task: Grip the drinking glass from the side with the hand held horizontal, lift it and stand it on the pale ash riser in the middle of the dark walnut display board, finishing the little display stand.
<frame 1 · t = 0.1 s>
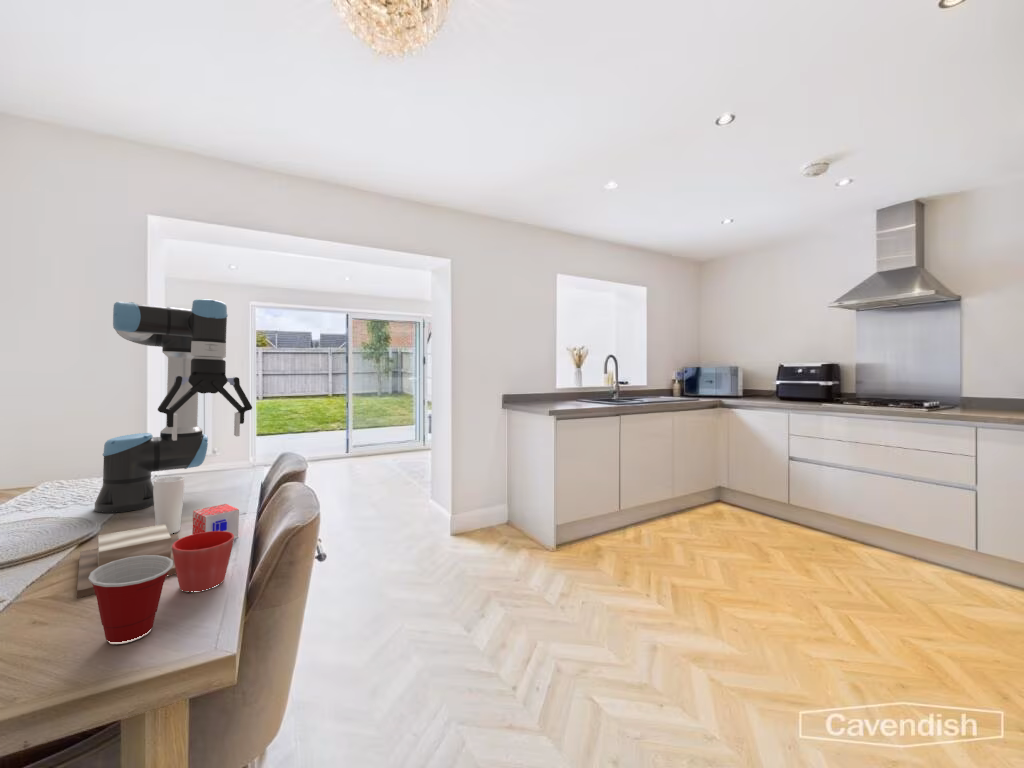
hand: (206, 437, 111), 28 cm above the table, tool pointing down, fingers open, 13 cm apart
display stand: (134, 564, 97), on the table
red patterned cube: (215, 539, 113), on the table
flower pot: (203, 585, 89), on the table
drinking glass: (168, 533, 116), on the table
plastic cup: (131, 636, 72), on the table
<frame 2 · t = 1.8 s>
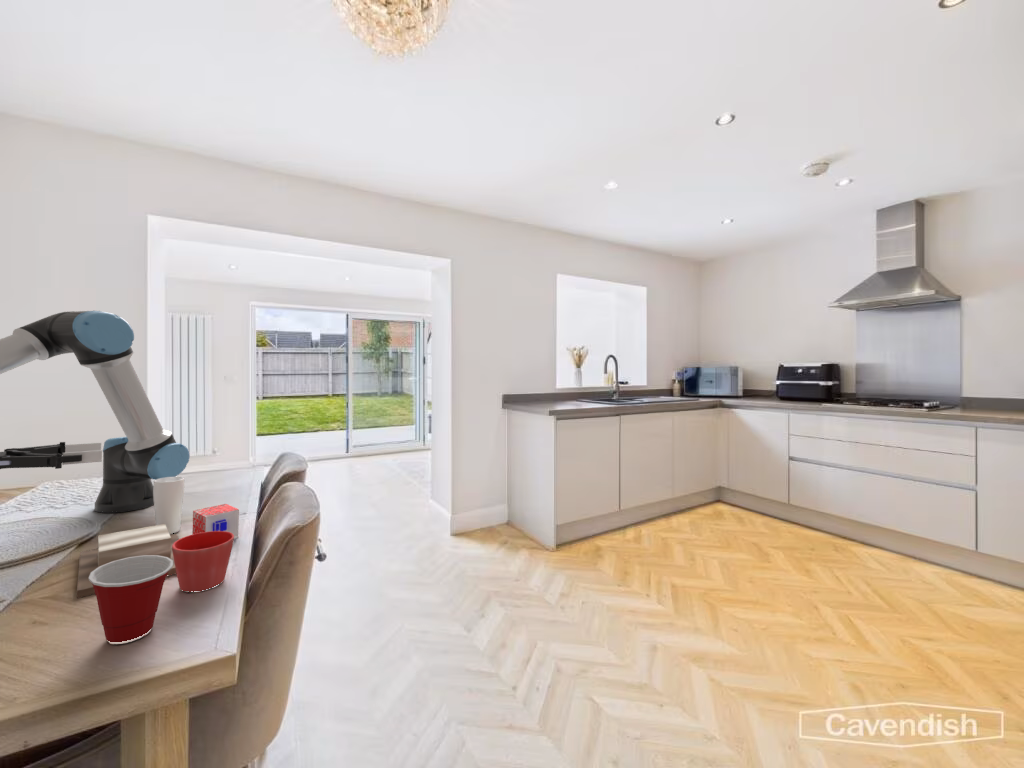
hand: (101, 451, 106), 24 cm above the table, tool horizontal, fingers open, 13 cm apart
nothing on the table moved.
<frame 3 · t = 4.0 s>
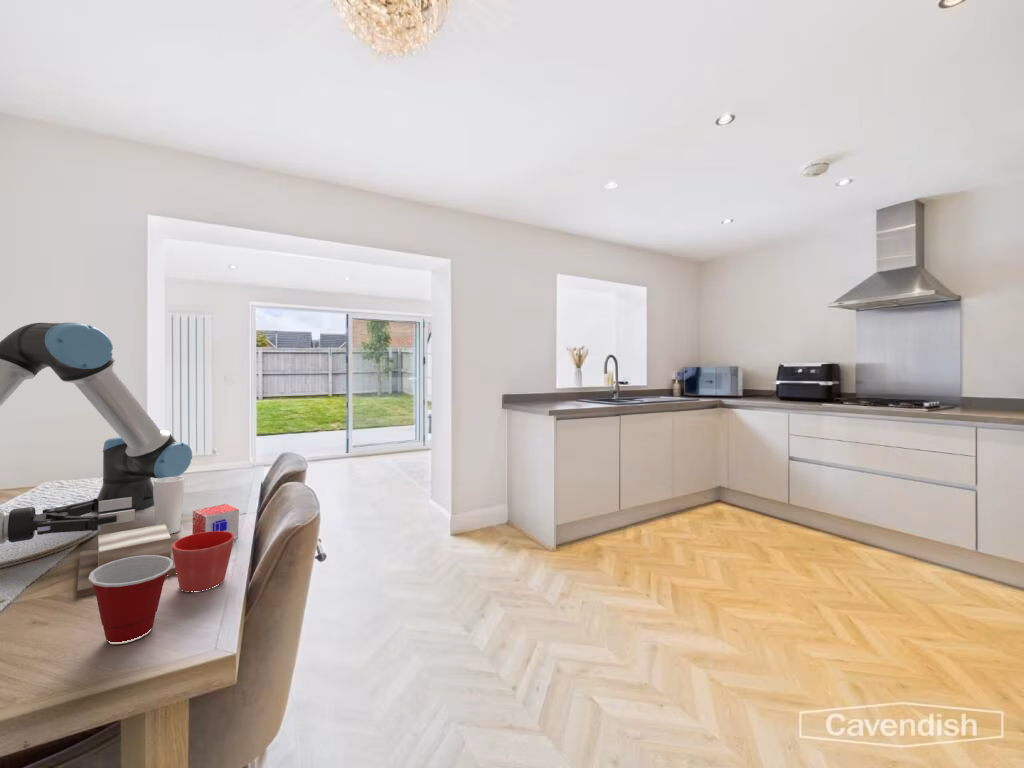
hand: (133, 508, 110), 8 cm above the table, tool horizontal, fingers open, 13 cm apart
nothing on the table moved.
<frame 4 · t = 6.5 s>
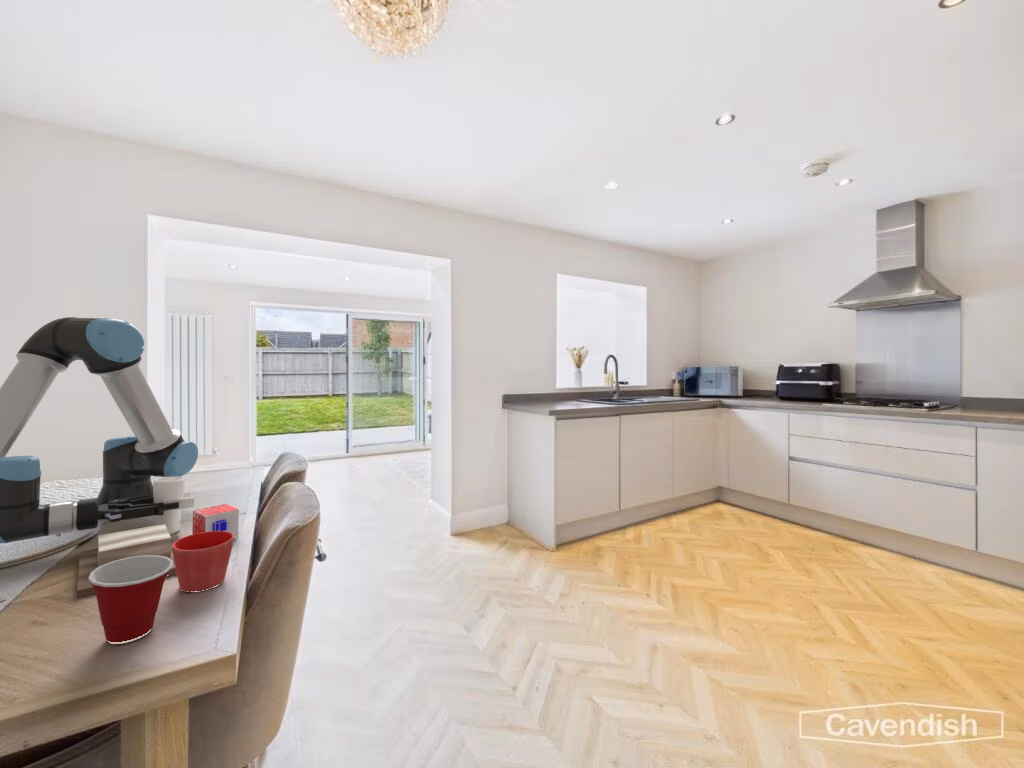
hand: (191, 499, 119), 9 cm above the table, tool horizontal, fingers closed on drinking glass, 6 cm apart
drinking glass: (168, 533, 116), on the table, touching gripper
everything else where it was.
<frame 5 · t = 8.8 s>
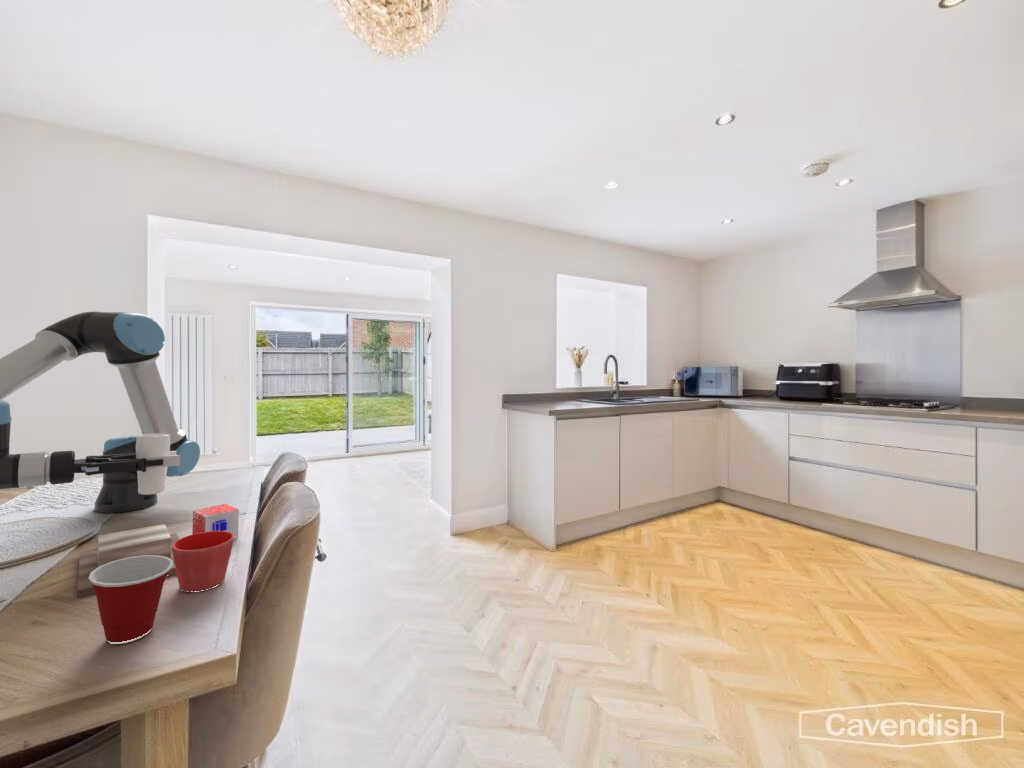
hand: (177, 458, 111), 22 cm above the table, tool horizontal, fingers closed on drinking glass, 6 cm apart
drinking glass: (151, 493, 108), point 13 cm above the table, touching gripper
everything else where it was.
when the fingers open (16 cm above the table, at t = 11.2 s): drinking glass stays where it is, resting on display stand.
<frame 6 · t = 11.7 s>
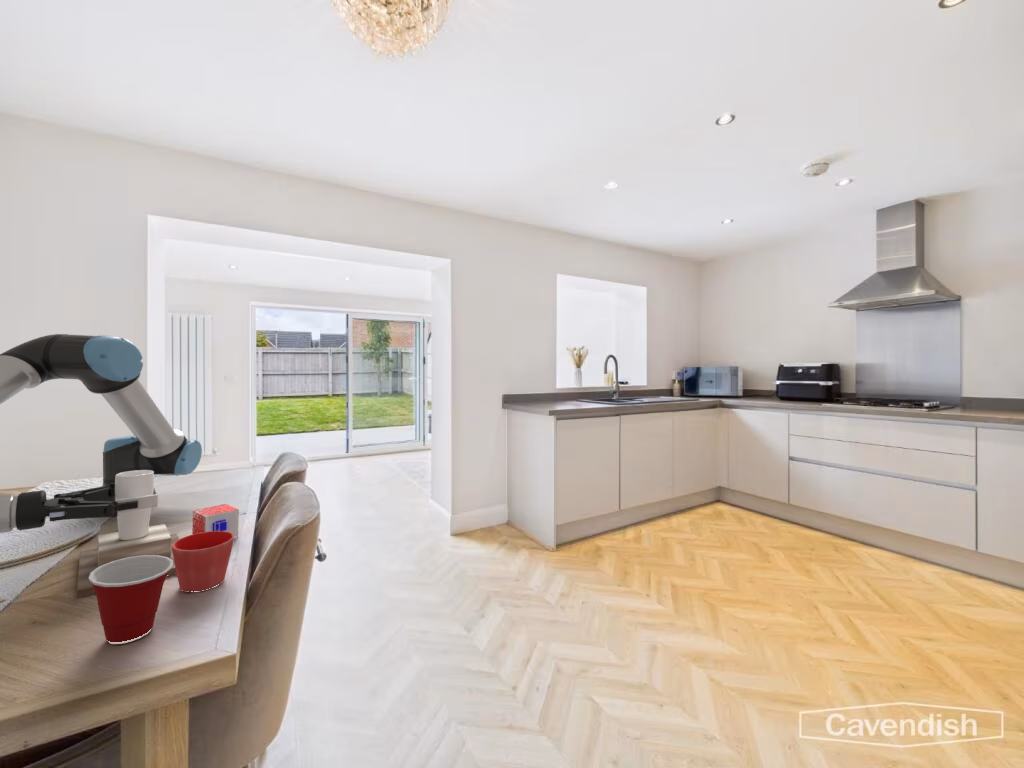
hand: (154, 493, 99), 16 cm above the table, tool horizontal, fingers open, 13 cm apart
drinking glass: (133, 537, 97), point 6 cm above the table, touching display stand
everything else where it was.
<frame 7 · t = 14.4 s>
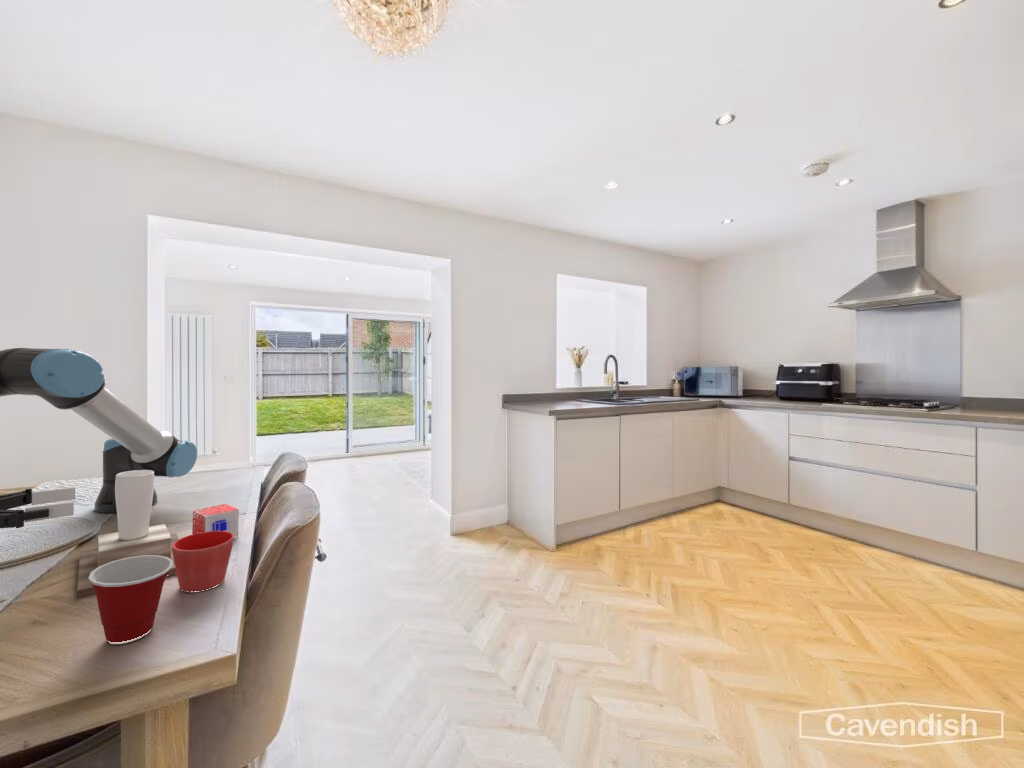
hand: (74, 500, 90), 17 cm above the table, tool horizontal, fingers open, 13 cm apart
nothing on the table moved.
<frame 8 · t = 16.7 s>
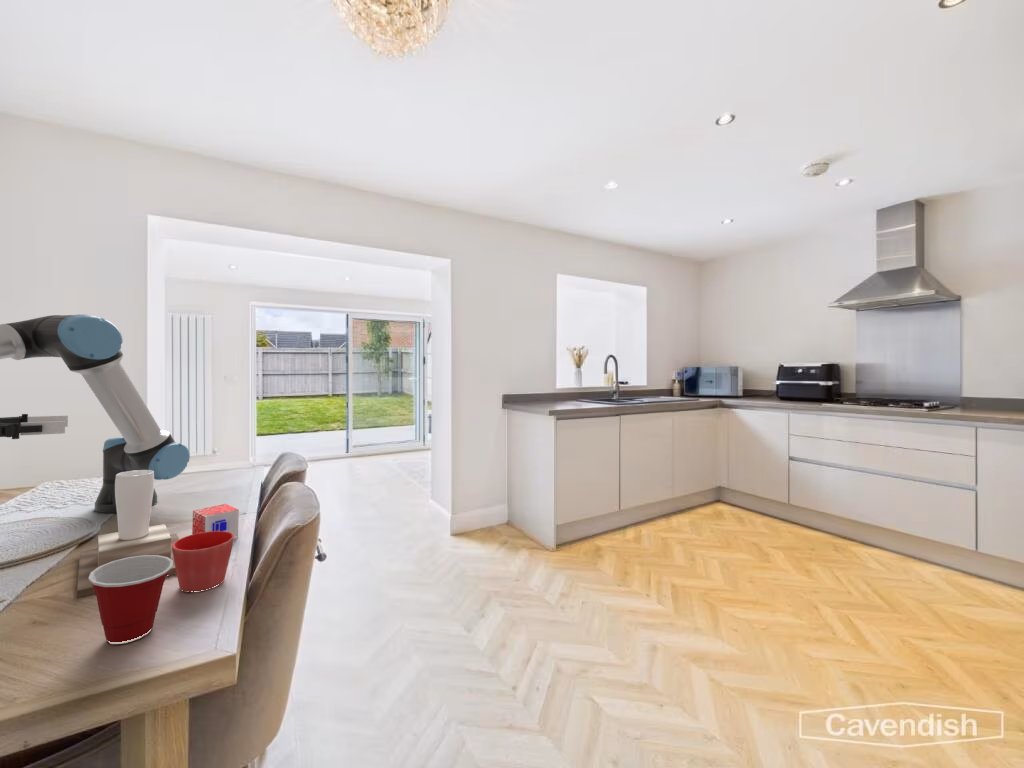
hand: (66, 424, 99), 32 cm above the table, tool horizontal, fingers open, 13 cm apart
nothing on the table moved.
at the end: drinking glass inside the target area on the display stand (0.2 cm from its centre), point 6.3 cm above the display stand's base; drinking glass tilted 0°; the gripper is holding nothing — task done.
